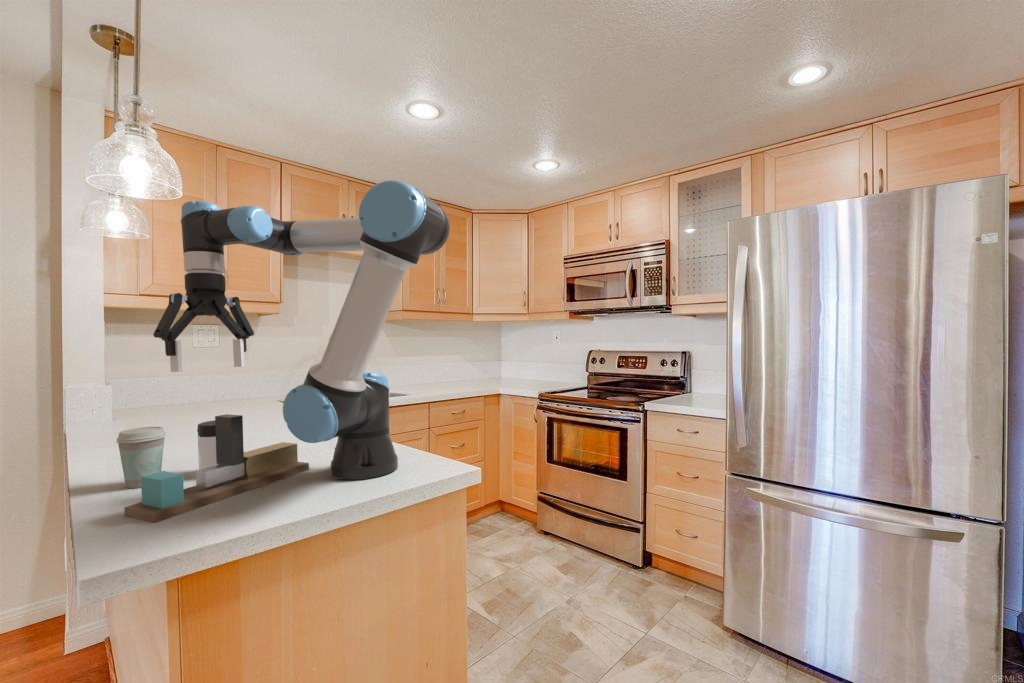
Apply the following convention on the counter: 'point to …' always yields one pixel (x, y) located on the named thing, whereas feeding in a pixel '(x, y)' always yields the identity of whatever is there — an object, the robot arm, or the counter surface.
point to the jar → (206, 444)
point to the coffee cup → (140, 453)
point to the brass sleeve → (269, 459)
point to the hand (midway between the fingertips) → (209, 369)
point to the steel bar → (225, 452)
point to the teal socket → (162, 489)
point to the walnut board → (210, 494)
